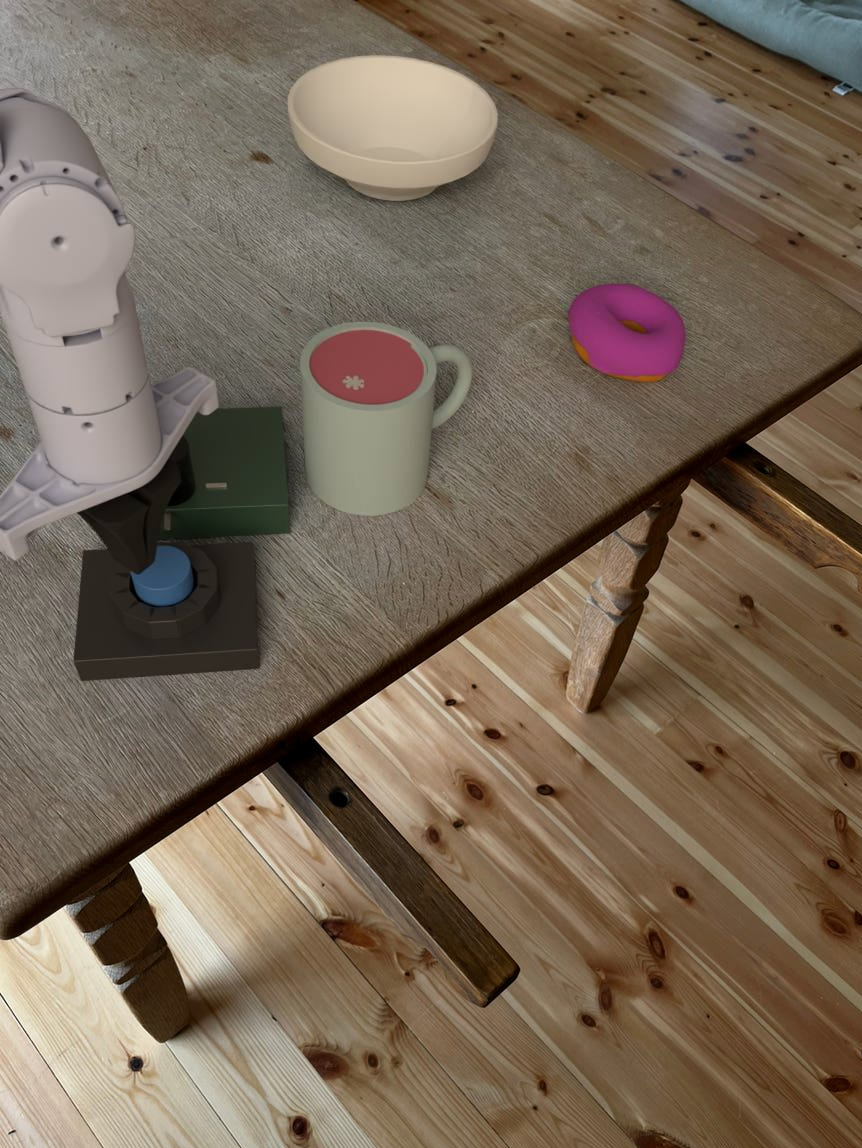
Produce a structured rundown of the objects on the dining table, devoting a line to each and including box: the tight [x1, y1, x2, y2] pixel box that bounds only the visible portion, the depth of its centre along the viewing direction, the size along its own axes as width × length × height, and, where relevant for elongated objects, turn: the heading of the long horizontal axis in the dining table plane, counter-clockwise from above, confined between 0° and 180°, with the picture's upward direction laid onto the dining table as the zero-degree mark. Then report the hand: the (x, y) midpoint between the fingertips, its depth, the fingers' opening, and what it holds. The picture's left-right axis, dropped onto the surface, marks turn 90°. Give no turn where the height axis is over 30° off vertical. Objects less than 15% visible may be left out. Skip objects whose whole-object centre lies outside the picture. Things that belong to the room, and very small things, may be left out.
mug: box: [299, 321, 473, 517], centre depth 75 cm, size 14×9×10 cm
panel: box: [158, 406, 291, 541], centre depth 74 cm, size 12×12×3 cm
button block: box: [73, 541, 260, 682], centre depth 67 cm, size 11×9×4 cm
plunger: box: [131, 545, 194, 606], centre depth 65 cm, size 4×4×2 cm
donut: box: [567, 282, 687, 383], centre depth 88 cm, size 10×10×5 cm
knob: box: [167, 435, 195, 507], centre depth 70 cm, size 4×4×4 cm
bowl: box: [286, 54, 499, 202], centre depth 100 cm, size 20×20×7 cm
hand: (134, 560), depth 61 cm, fingers closed
